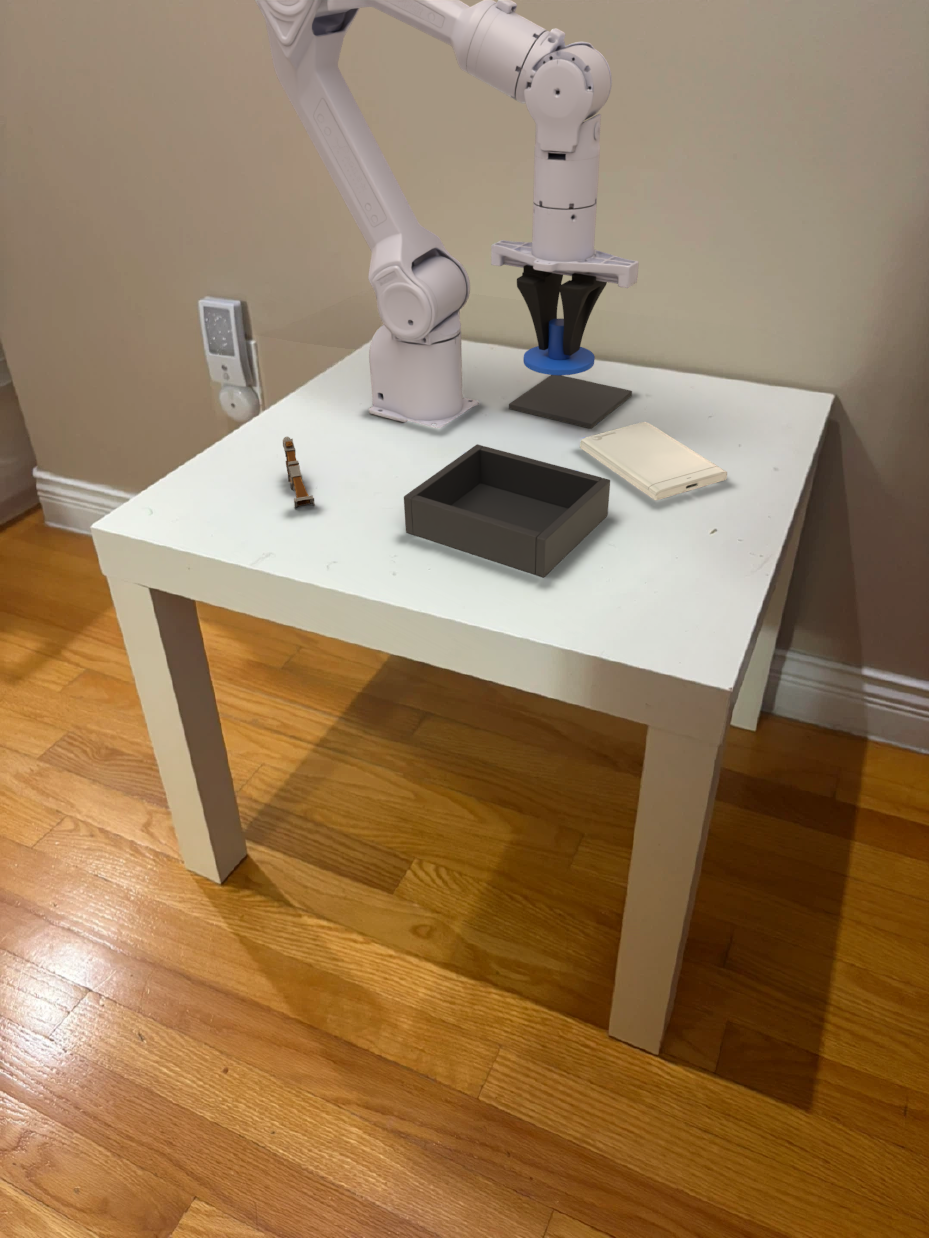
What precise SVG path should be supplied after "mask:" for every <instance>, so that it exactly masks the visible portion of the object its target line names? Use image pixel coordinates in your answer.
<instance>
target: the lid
mask: <svg viewBox="0 0 929 1238" xmlns="http://www.w3.org/2000/svg"><path fill="white" fill-rule="evenodd" d="M563 332H564V318H557V319H553V320H551V321H549V337H548V349H546V350H540V349H539V346H538V345H537V346H533V347H532V348H529V349H528V350H526V351H525V352H524V354H523V356H522V359H523V361H522V362H523V365H524V366H525V367H526V368H527V369H529V370H530V371H532V372H535V373H538V374H543V375H547V376H548V375H549V376H550V375H562V376H570V375H571V376H572V375H577V374H582V373H584V372H587V371H590V369H592V368H593V367H594V365H595V359H596V357H595V354H594V353H593V352H592V351H591V350H590V349H588V348H586V347H583V346H580V349H579V350H578V351H577V352H575V353H574V354H572V355H571V356H569V355H564V352H563Z"/></svg>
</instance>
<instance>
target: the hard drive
mask: <svg viewBox="0 0 929 1238" xmlns="http://www.w3.org/2000/svg"><path fill="white" fill-rule="evenodd" d="M579 448H580V449H581V450H583V451H584V452H585V453H587V454H588V455H589V456H592V458H594V459H595V460H597V461H598V462H599V463H601V464H602V465H604V466H605V467H607V468H608V469H610V470H611V471H612V472H614V473H615V474H617V475H618V476H619V477H621V478H622V479H624V480H625V481H627V483H629V484H631V485H632V486H634V487H635V488H636V489H638V490H639V491H641V492H642V493H644V494H645V495H646V496H648V497H649V498H651V499H652V500H654V501H659V500H662V499H666V498H669V497H672V496H673V497H674V496H677V495H679V494H684V493H686V492H689V491H694V490H696V489H700V488H703V487H707V486H710V485H713V484H716V483H719V482H723V481H727V478H728V471H726V470H725V469H723V468H721V467H720V466H718V465H717V464H715V463H714V462H712V461H710V460H709V459H707V458H706V457H704V456H703V455H702V454H699V452H696V451H694V450H692V449H691V447H688V446H687V445H685V444H683V443H682V442H680V441H678V440H676V439H675V438H673V437H672V436H670V435H669V434H667V433H666V432H664V431H662V430H661V429H660V428H658V427H656V426H654V425H652V424H651V423H649V422H648V421H641V422H637V423H634V424H629V425H626V426H622V427H618V428H615V429H611V430H607V431H603V432H600V433H597V434H592V435H589V436H586V437H583V438H581V439H580V444H579Z"/></svg>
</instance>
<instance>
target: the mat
mask: <svg viewBox="0 0 929 1238" xmlns="http://www.w3.org/2000/svg"><path fill="white" fill-rule="evenodd" d="M632 396H633V391H632V390H630V389H625V388H621V387H617V386H612V385H608V384H603V383H599V382H593V381H588V380H584V379H579V378H575V377H571V376H567V375H549V376H547V377H546V378H544V379H543V380H541V381H540V382H539V383H537V384H536V385H534V386H533V387H531V388H530V389H528V390H527V391H526V392H524V393H522V395H519V397H517V398H515V399H514V400H512V401H511V402H509V404H508V409H509V410H511V411H512V410H513V411H516V412H520V413H525V414H529V415H533V416H537V417H542V418H546V419H550V420H553V421H558V422H562V423H566V424H570V425H575V426H578V427H579V426H580V427H583V428H587V429H593V428H594V427H595V426H596V425H598V424H599V423H600V422H601V421H602V420H604V419H605V418H606V417H607V416H609V415H610V414H612V413H613V412H614V411H615V410H616V409H617V408H619V407H620V406H621V405H622V404H623V403H624V402H626V401H627V400H628V399H629V398H631V397H632Z"/></svg>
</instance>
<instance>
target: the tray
mask: <svg viewBox="0 0 929 1238" xmlns="http://www.w3.org/2000/svg"><path fill="white" fill-rule="evenodd" d="M610 490H611V479H609V478H605V477H602V476H598V475H594V474H591V473H587V472H583V471H579V470H575V469H572V468H568V467H565V466H560V465H557V464H552V463H549V462H546V461H541V460H537V459H534V458H532V457H531V458H530V457H527V456H523V455H519V454H515V453H512V452H508V451H503V450H500V449H496V448H493V447H490V446H485V445H481V444H478V443H477V444H475V445H474V446H473V447H471V448H469V449H468V450H467V451H466V452H464V453H462V454H461V455H459V456H458V457H456V458H455V459H454V460H452V461H451V462H450V463H448V464H447V465H445V467H443V468H441V469H440V470H439V471H437V472H436V473H434V474H433V475H432V476H430V477H429V478H428V479H425V481H423V482H422V483H420V484H419V485H418V486H416V487H415V488H413V489H411V490H410V492H408V493H407V494H405V495H404V496H403V509H404V510H403V511H404V522H405V533H406V534H409V535H412V536H414V537H418V538H421V539H423V540H427V541H430V542H433V543H435V544H439V545H441V546H445V547H448V548H451V549H454V550H456V551H457V550H458V551H460V552H463V553H467V554H469V555H472V556H475V557H479V558H481V559H485V560H488V561H491V562H494V563H497V564H499V565H504V566H507V567H509V568H512V569H515V570H518V571H522V572H524V573H527V574H531V575H534V576H536V577H540V578H542V579H545V577H546V576H547V575H548V574H550V573H551V571H553V570H554V569H555V567H557V566H558V565H559V564H560V563H561V562H562V561H563V560H564V559H565V558H567V556H568V555H569V554H570V553H571V552H572V551H573V550H574V549H575V548H576V547H578V546H579V544H580V543H581V542H582V541H583V540H585V539H586V537H588V536H589V535H590V534H591V533H592V532H594V530H595V529H596V528H597V527H598V526H599V525H600V524H601V523H602V522H603V521H604V520H605V519H606V518H607V517H608V514H609V503H610V502H609V501H610Z"/></svg>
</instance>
